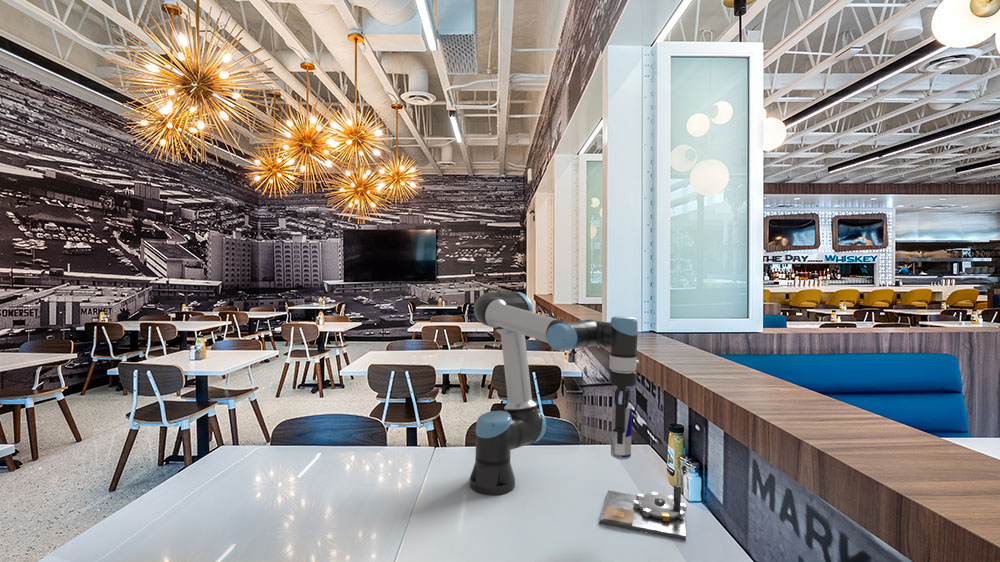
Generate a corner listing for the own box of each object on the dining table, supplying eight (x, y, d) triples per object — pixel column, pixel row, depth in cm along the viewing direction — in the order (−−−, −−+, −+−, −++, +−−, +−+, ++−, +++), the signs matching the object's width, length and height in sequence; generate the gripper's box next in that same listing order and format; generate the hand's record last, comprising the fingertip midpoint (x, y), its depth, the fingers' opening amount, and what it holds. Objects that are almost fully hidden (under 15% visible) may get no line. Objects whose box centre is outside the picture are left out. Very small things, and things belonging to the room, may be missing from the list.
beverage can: (631, 461, 137) (633, 408, 137) (611, 459, 138) (612, 407, 138) (630, 454, 143) (631, 403, 142) (610, 452, 144) (612, 401, 143)
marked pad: (603, 520, 138) (603, 517, 138) (606, 507, 146) (606, 505, 146) (632, 525, 136) (632, 523, 136) (634, 512, 143) (634, 510, 143)
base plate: (599, 523, 139) (599, 519, 139) (607, 493, 158) (608, 490, 158) (685, 540, 131) (685, 536, 131) (683, 506, 150) (683, 503, 150)
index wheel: (668, 526, 135) (669, 496, 135) (623, 506, 147) (624, 478, 146) (696, 510, 145) (697, 482, 145) (651, 492, 156) (652, 465, 156)
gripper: (634, 378, 130) (631, 464, 130) (638, 366, 147) (636, 442, 148) (605, 375, 132) (603, 460, 133) (613, 363, 150) (611, 438, 150)
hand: (620, 450), depth 140 cm, fingers closed on beverage can, 5 cm apart
